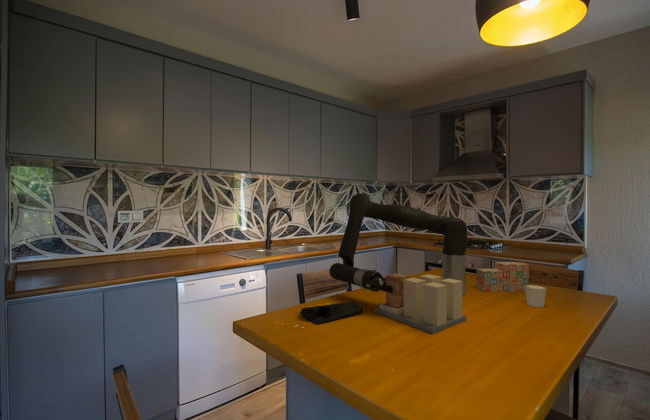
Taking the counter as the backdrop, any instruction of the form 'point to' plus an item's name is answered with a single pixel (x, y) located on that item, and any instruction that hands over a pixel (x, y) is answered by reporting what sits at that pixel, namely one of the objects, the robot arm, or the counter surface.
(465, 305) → the counter surface
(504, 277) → the stack of blocks
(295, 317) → the counter surface
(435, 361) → the counter surface
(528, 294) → the beige piece
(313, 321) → the dark slate chunk
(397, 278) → the terracotta pillar
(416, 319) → the pillar board
